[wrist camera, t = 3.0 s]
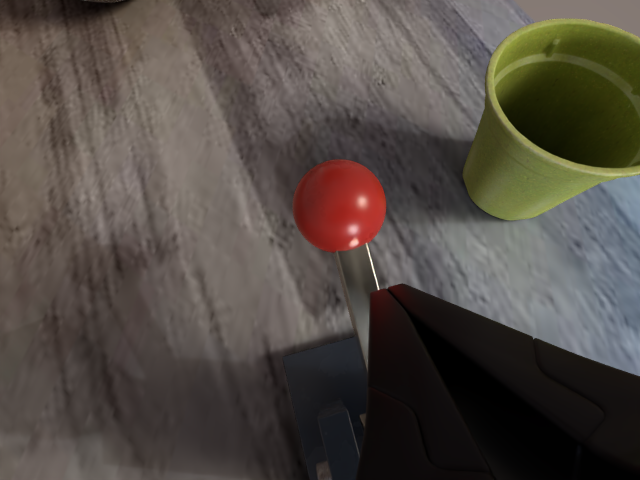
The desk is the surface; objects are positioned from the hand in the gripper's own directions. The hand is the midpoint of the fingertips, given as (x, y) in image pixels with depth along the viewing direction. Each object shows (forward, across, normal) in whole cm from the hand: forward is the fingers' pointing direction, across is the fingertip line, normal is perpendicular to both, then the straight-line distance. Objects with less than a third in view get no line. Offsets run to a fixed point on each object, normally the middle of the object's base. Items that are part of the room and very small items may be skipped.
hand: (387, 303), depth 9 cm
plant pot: (+15, -14, +4) cm, 21 cm away
